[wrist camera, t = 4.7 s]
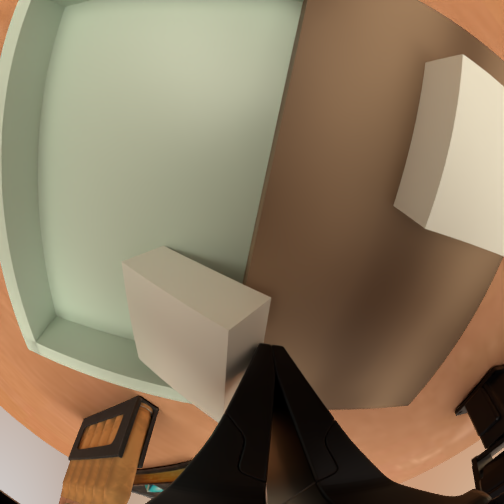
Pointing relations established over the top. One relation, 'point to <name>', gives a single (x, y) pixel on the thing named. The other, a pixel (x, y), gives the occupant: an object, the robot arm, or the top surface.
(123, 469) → the ammunition clip
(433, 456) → the top surface
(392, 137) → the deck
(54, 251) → the tray
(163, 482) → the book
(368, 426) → the top surface
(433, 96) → the tile
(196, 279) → the tile
